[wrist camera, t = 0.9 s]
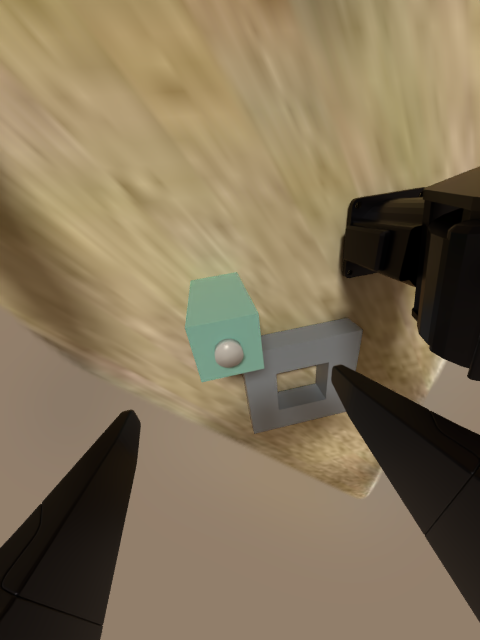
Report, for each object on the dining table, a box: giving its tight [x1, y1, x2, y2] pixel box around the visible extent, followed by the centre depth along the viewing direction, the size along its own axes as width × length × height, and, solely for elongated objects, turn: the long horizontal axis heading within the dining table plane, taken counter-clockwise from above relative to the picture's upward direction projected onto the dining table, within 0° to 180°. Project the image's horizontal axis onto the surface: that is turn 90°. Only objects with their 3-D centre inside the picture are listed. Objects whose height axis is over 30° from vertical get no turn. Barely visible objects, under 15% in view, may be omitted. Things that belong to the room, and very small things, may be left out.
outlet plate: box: [243, 318, 363, 434], centre depth 24 cm, size 12×12×2 cm
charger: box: [185, 272, 264, 382], centre depth 16 cm, size 4×4×9 cm
